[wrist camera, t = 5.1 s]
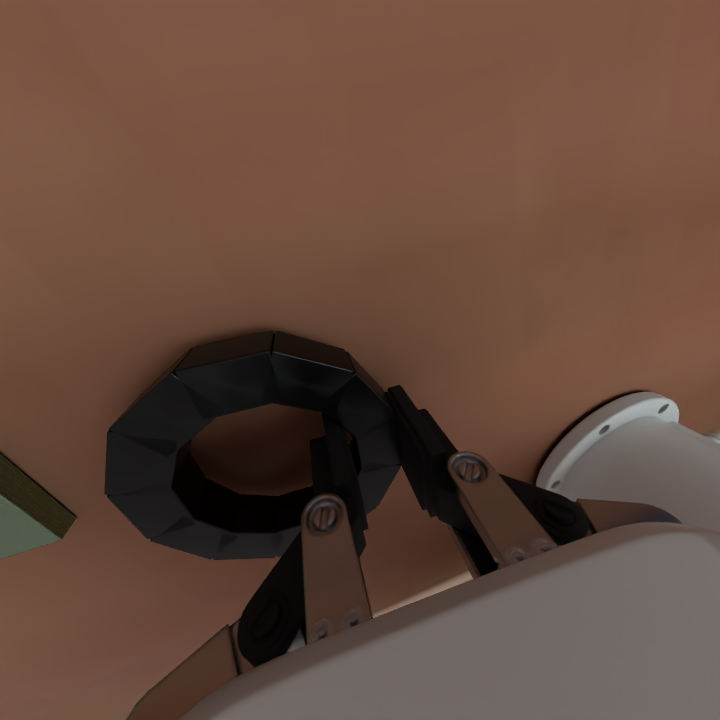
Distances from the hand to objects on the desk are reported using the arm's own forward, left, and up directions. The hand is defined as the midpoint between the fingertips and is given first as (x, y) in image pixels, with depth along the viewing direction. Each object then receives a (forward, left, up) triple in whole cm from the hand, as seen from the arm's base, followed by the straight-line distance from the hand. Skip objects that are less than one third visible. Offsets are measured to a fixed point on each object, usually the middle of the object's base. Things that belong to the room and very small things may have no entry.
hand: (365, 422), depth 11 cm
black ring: (+4, 0, 0) cm, 4 cm away
